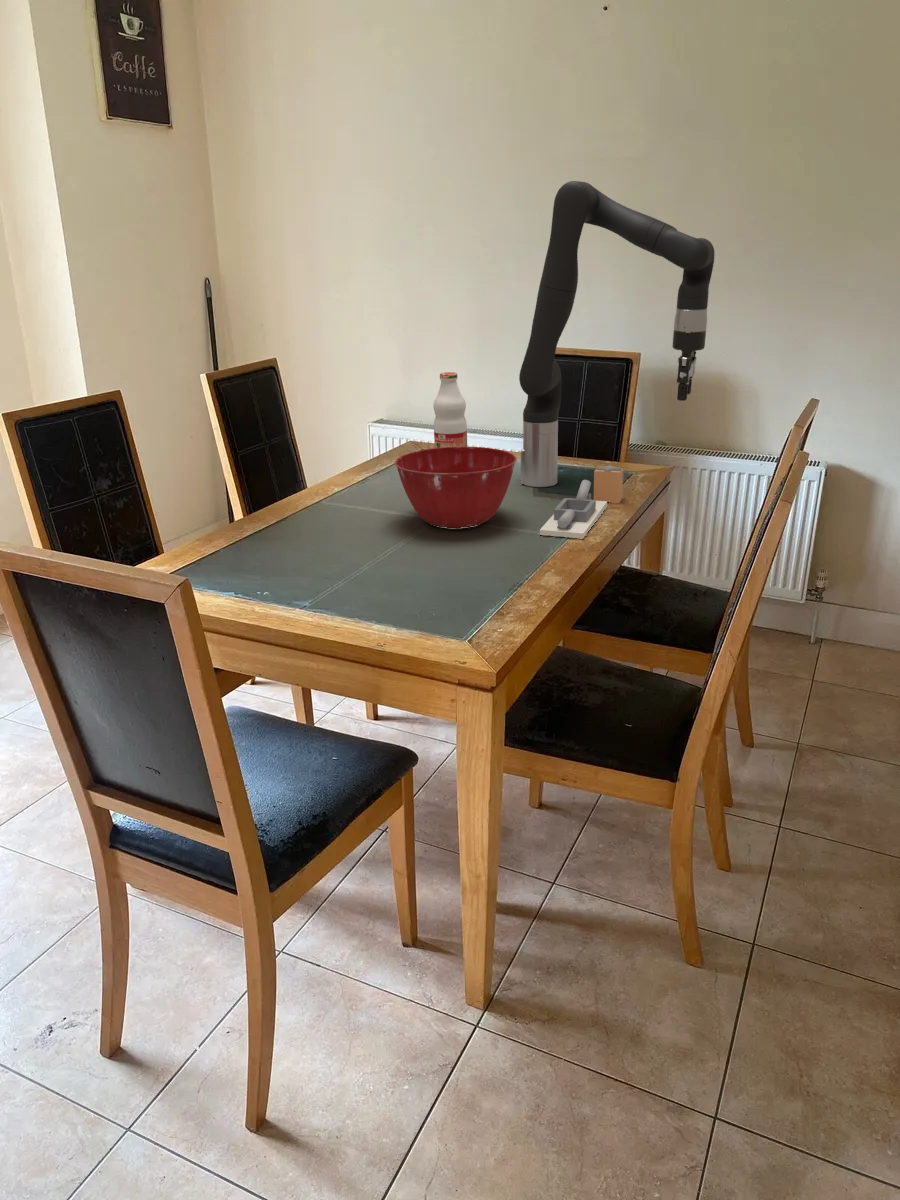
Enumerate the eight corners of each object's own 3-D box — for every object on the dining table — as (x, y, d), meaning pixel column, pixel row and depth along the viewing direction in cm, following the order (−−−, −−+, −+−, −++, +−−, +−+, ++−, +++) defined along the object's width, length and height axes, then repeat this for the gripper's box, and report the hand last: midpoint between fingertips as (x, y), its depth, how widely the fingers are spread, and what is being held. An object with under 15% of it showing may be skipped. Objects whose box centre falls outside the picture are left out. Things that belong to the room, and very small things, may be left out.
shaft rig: (539, 536, 204) (539, 505, 201) (567, 504, 226) (567, 476, 224) (583, 539, 201) (584, 508, 198) (607, 507, 223) (607, 478, 220)
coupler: (593, 502, 228) (594, 467, 224) (596, 497, 231) (597, 463, 228) (619, 503, 226) (620, 469, 222) (622, 499, 229) (623, 465, 226)
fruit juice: (474, 470, 261) (472, 372, 251) (454, 477, 254) (451, 376, 244) (449, 466, 267) (445, 370, 256) (428, 473, 260) (424, 374, 249)
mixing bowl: (414, 503, 232) (411, 443, 226) (524, 506, 227) (524, 445, 221) (384, 538, 207) (380, 472, 201) (507, 542, 201) (507, 474, 195)
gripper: (677, 324, 222) (671, 391, 228) (670, 331, 210) (664, 401, 216) (709, 325, 220) (702, 393, 226) (703, 332, 207) (696, 403, 214)
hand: (683, 397), depth 221 cm, fingers open, 8 cm apart
